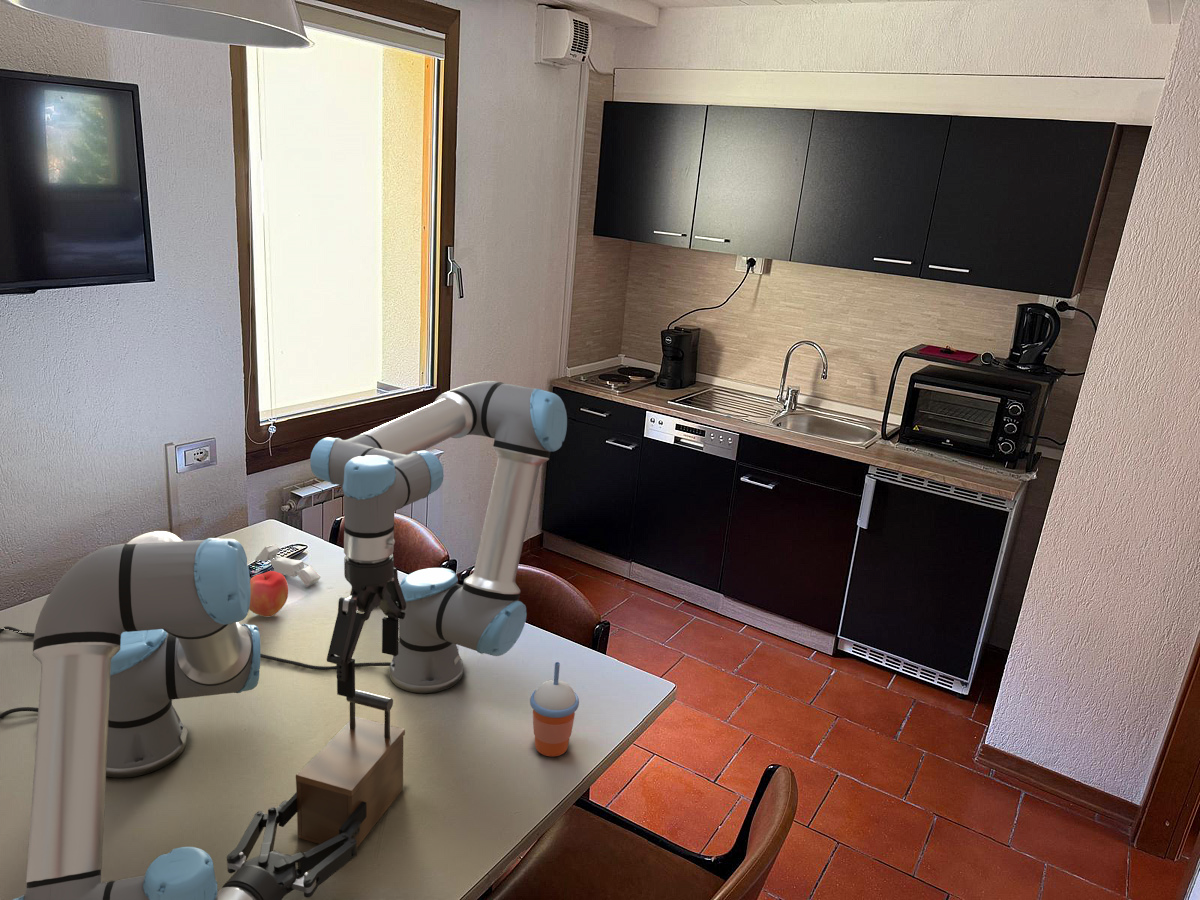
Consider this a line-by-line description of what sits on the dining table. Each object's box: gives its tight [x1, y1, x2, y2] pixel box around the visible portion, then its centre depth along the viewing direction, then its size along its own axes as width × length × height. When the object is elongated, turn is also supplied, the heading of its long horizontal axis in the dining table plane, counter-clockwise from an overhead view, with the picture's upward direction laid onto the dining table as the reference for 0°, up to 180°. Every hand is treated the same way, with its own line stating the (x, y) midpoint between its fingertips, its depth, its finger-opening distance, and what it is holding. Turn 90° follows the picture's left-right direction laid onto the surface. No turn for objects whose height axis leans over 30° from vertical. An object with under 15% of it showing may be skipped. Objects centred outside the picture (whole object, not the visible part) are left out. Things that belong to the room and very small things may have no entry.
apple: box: [249, 570, 289, 618], centre depth 199 cm, size 10×10×10 cm
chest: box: [295, 736, 404, 848], centre depth 140 cm, size 16×10×11 cm, turn 164°
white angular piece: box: [254, 544, 322, 587], centre depth 219 cm, size 20×4×7 cm, turn 62°
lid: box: [295, 688, 406, 796], centre depth 138 cm, size 17×10×8 cm, turn 164°
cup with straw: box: [529, 661, 580, 757], centre depth 159 cm, size 9×9×18 cm
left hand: (334, 800), depth 135 cm, fingers closed on chest, 10 cm apart
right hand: (369, 673), depth 140 cm, fingers open, 13 cm apart
